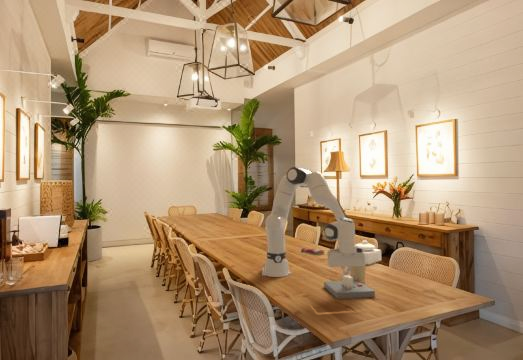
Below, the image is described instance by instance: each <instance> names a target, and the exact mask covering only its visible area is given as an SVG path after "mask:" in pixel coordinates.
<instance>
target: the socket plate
mask: <svg viewBox="0 0 523 360" xmlns="http://www.w3.org/2000/svg"><path fill="white" fill-rule="evenodd" d="M323 287H324V288H325V290H327V291H328V292H329V293H330V294H331V295H332V296H333V297H334V298H336V299H337V300H345V299H361V298H364V299H365V298H375V297H376V290H374V289H373V288H371V287H370V286H369V285H366V284H365V283H362V282H360V281H359V280H353V288H345V287H343V280H335V281H334V280H332V281H331V280H330V281H323Z"/></svg>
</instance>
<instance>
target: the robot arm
mask: <svg viewBox="0 0 523 360" xmlns="http://www.w3.org/2000/svg"><path fill="white" fill-rule="evenodd" d="M298 187H300V188H308V191H309V193H310V196H311V199H312V200H313V202H315V203H316V204H317V205H319V206H323V207H325V208H328V209H329V210H330V211H331V212H332V214H333V215H334V218H335V220H336V221H332V222H329V223H326V225H325V226H324V229H323V233H324V236H325V238H326V239H327V240H328V241H337V248H330V249H328V250H327V260H326V262H327V263H326V265H328V267H330V268H335V267H336V268H340V270H341V271H342V275H343V276H350V270H351V266H364V265H365V255H364V254H363V252H364V249H362V248H360V247H358V246H355V245H356V242H355V236H356V226H355V222H354V220H353V219H352V218H349V217H348V216H347V214H346V212H345V210H344V209H343V207H342V205H341V203H340V202H339V200H338V198H337V197H336V196H335V195H334V194H333V193H332V191H331V189H330V187H329V185H328V183H327V180H326V178H325V177H324V175H323V174H322V173H321V172H320V171H312V170H309V169H307V168H303V167H298V166H292V167H290V168H289V169H288V170H287V172H286V175H284V176H282V178H281V180H280V182H279V184H278V187H277V188H276V189H277V190H276V193H275V196H274V199H273V204H272V208H271V213H270V214H268V216H267V217H266V219H265V221H264V225H265V229H266V237H267V239H266V240H267V253H266V260H265V262H263V263H262V267H263V268H262V270H261V276H267V277H270V278H271V277H272V278H282V277H283V278H284V277H286V276H288V275H292V272H291V271H290V270H289V260H288V259H287V252H286V237H285V231H284V228H285V226H286V224H287V221H288V217H289V213H290V209H291V206H292V205H291V204H292V202H293V199H294V196H295V193H296V190H297V188H298ZM346 267H347V269H346ZM345 269H346V270H345Z"/></svg>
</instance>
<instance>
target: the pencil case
mask: <svg viewBox="0 0 523 360" xmlns="http://www.w3.org/2000/svg"><path fill="white" fill-rule="evenodd" d="M300 251H301V253H305V254H310V255H316V256H322V255H325V250H323V249H320V248H311V247H310V248H309V247H306V248H305V247H304V248H301V250H300Z"/></svg>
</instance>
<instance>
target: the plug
mask: <svg viewBox="0 0 523 360" xmlns="http://www.w3.org/2000/svg"><path fill="white" fill-rule="evenodd" d="M342 277H343V279H342V281H343V287H345V288H353V277H351V275H343V276H342Z"/></svg>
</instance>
